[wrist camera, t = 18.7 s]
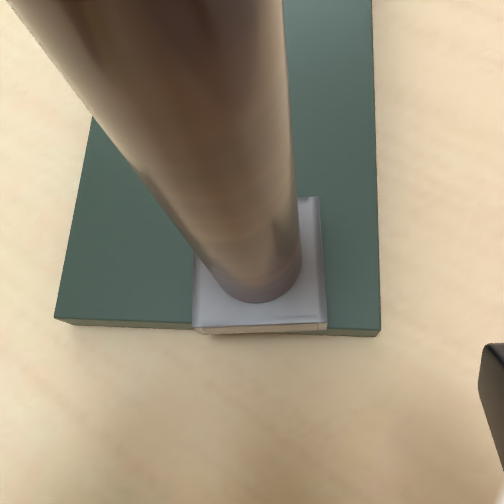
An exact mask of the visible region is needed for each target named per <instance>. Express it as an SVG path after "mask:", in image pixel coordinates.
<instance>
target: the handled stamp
mask: <svg viewBox="0 0 504 504" xmlns="http://www.w3.org/2000/svg"><path fill="white" fill-rule="evenodd" d="M6 1H7V2H8V4H9V5H10V6H11V8H12V9H13V10H14V12H15V13H16V14H17V16H18V17H19V18H20V20H21V21H22V22H23V24H24V25H25V26H26V28H27V29H28V30H29V32H30V33H31V34H32V36H33V37H34V38H35V40H36V41H37V42H38V44H39V45H40V46H41V48H42V49H43V50H44V52H45V53H46V54H47V56H48V57H49V58H50V60H51V61H52V62H53V64H54V65H55V66H56V68H57V69H58V70H59V72H60V73H61V74H62V76H63V77H64V78H65V80H66V81H67V82H68V84H69V85H70V86H71V88H72V89H73V90H74V92H75V93H76V94H77V96H78V97H79V98H80V100H81V101H82V102H83V104H84V105H85V106H86V108H87V109H88V110H89V111H90V113H91V114H92V115H93V117H94V118H95V119H96V121H97V122H98V123H99V125H100V126H101V127H102V129H103V130H104V131H105V133H106V134H107V135H108V137H109V138H110V139H111V141H112V142H113V143H114V145H115V146H116V147H117V149H118V150H119V151H120V153H121V154H122V155H123V157H124V158H125V159H126V161H127V162H128V163H129V165H130V166H131V167H132V169H133V170H134V171H135V173H136V174H137V175H138V177H139V178H140V179H141V181H142V182H143V183H144V185H145V186H146V187H147V189H148V190H149V191H150V193H151V194H152V195H153V197H154V198H155V199H156V201H157V202H158V203H159V205H160V206H161V207H162V209H163V210H164V211H165V213H166V214H167V215H168V217H169V218H170V219H171V221H172V222H173V223H174V225H175V226H176V227H177V229H178V230H179V231H180V233H181V234H182V235H183V237H184V238H185V239H186V241H187V242H188V243H189V245H190V246H191V247H192V249H193V288H192V328H193V329H195V330H196V331H198V332H199V333H200V334H202V335H205V334H232V333H258V332H284V331H311V330H326V329H327V323H328V319H327V304H326V290H325V276H324V262H323V248H322V234H321V220H320V206H319V196H314V197H299V198H297V185H296V172H295V158H294V145H293V132H292V118H291V105H290V91H289V78H288V64H287V51H286V37H285V24H284V10H283V0H6Z"/></svg>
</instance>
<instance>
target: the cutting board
mask: <svg viewBox="0 0 504 504" xmlns="http://www.w3.org/2000/svg"><path fill="white" fill-rule="evenodd" d="M283 10H284V24H285V37H286V51H287V64H288V78H289V91H290V105H291V118H292V132H293V145H294V158H295V172H296V185H297V198H299V197H314V196H319V206H320V220H321V234H322V248H323V262H324V276H325V290H326V304H327V319H328V323H327V329H326V330H311V331H284V332H265V333H290V334H316V335H341V336H366V337H375V336H376V335H377V334H378V333H379V332H380V330H381V307H380V272H379V237H378V202H377V167H376V132H375V97H374V63H373V28H372V0H283ZM192 288H193V249H192V247H191V246H190V245H189V243H188V242H187V241H186V239H185V238H184V237H183V235H182V234H181V233H180V231H179V230H178V229H177V227H176V226H175V225H174V223H173V222H172V221H171V219H170V218H169V217H168V215H167V214H166V213H165V211H164V210H163V209H162V207H161V206H160V205H159V203H158V202H157V201H156V199H155V198H154V197H153V195H152V194H151V193H150V191H149V190H148V189H147V187H146V186H145V185H144V183H143V182H142V181H141V179H140V178H139V177H138V175H137V174H136V173H135V171H134V170H133V169H132V167H131V166H130V165H129V163H128V162H127V161H126V159H125V158H124V157H123V155H122V154H121V153H120V151H119V150H118V149H117V147H116V146H115V145H114V143H113V142H112V141H111V139H110V138H109V137H108V135H107V134H106V133H105V131H104V130H103V129H102V127H101V126H100V125H99V123H98V122H97V121H96V119H95V118H94V117H93V116H92V122H91V127H90V132H89V137H88V142H87V147H86V153H85V158H84V163H83V168H82V173H81V179H80V184H79V189H78V194H77V199H76V204H75V210H74V215H73V220H72V225H71V230H70V235H69V241H68V246H67V251H66V256H65V261H64V267H63V272H62V277H61V282H60V287H59V292H58V298H57V303H56V308H55V313H54V318H55V319H58V320H61V321H63V322H66V323H69V324H72V325H89V326H114V327H139V328H165V329H190V330H195V329H193V328H192Z"/></svg>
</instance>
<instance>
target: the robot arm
mask: <svg viewBox="0 0 504 504" xmlns="http://www.w3.org/2000/svg"><path fill="white" fill-rule="evenodd" d="M478 391H479V396H480V399H481V402H482V406H483V409H484V412H485V415H486V418H487V421H488V424H489V427H490V430H491V433H492V437H493V440H494V443H495V446H496V449H497V452H498V455H499V458H500V461H501V465H502V468H503V471H504V343H490V344H487V345H486V346H485V347H484V349H483V352H482V358H481V365H480V372H479V379H478Z"/></svg>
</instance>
